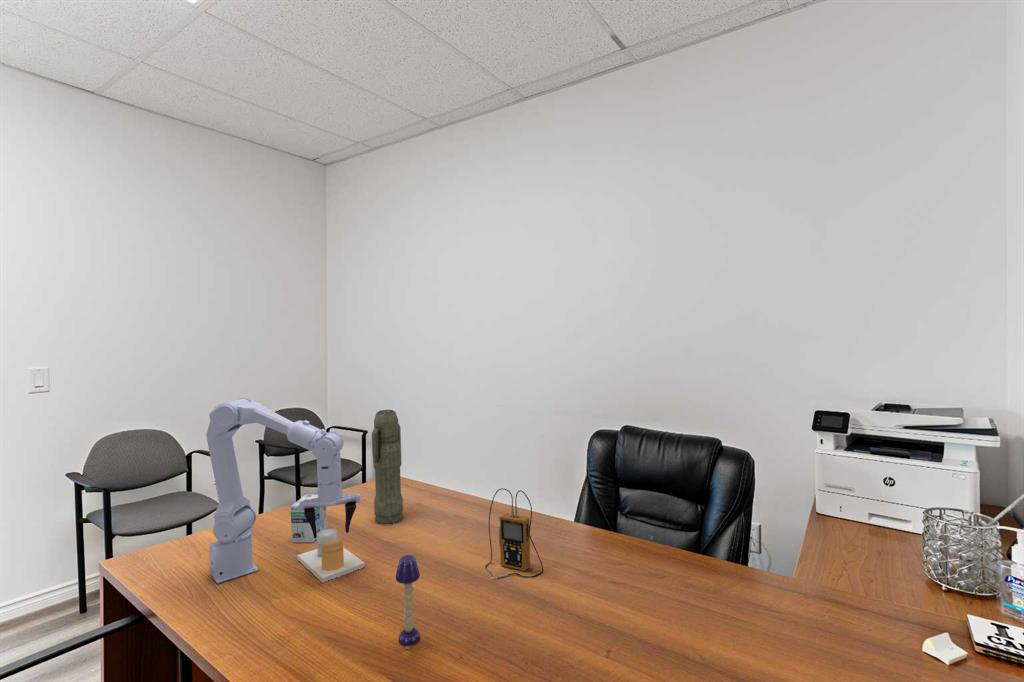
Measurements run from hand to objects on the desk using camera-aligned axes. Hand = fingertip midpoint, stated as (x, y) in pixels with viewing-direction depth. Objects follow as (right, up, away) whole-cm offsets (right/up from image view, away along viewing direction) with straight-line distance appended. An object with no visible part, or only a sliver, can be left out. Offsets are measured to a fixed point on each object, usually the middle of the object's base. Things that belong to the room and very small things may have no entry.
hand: (331, 533), depth 130 cm
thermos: (+7, -8, +33) cm, 35 cm away
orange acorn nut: (0, -8, 0) cm, 8 cm away
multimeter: (+45, -9, -3) cm, 46 cm away
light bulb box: (-14, -9, +22) cm, 28 cm away
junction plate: (-2, -9, +4) cm, 10 cm away
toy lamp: (+26, -10, -29) cm, 40 cm away
